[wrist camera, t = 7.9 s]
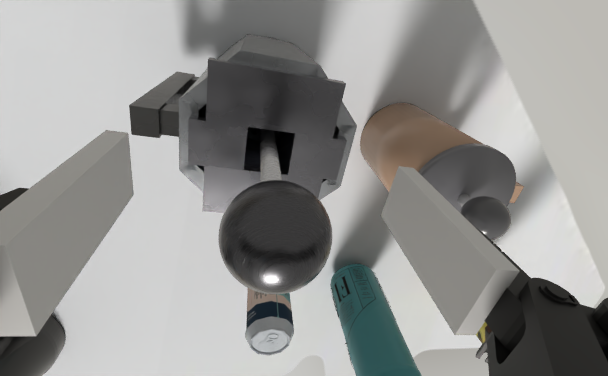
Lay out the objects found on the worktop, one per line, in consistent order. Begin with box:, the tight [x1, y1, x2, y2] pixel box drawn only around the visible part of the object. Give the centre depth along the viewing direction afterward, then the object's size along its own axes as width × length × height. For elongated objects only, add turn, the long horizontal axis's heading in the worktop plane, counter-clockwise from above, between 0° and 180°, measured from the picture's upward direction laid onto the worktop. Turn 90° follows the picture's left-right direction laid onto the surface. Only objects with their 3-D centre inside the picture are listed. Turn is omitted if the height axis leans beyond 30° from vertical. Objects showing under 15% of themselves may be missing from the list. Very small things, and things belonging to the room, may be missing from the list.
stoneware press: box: [360, 103, 524, 240], centre depth 27 cm, size 11×8×17 cm
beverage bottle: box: [330, 264, 421, 376], centre depth 34 cm, size 6×7×20 cm
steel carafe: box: [129, 34, 357, 213], centre depth 22 cm, size 12×9×16 cm
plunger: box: [219, 127, 332, 294], centre depth 17 cm, size 6×6×20 cm
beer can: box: [245, 288, 294, 355], centre depth 35 cm, size 5×5×12 cm
